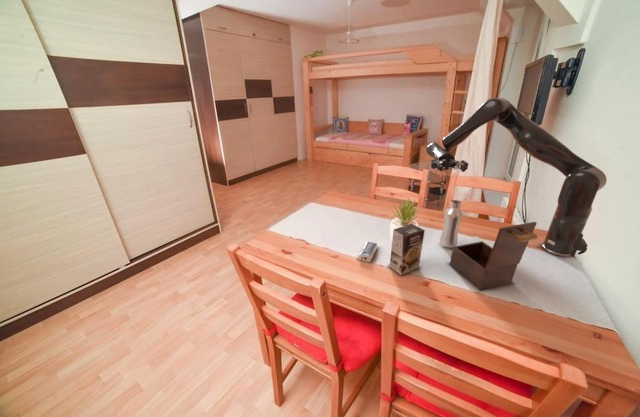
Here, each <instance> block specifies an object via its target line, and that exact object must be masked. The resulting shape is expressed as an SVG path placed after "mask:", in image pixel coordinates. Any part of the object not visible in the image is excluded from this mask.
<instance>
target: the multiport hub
mask: <svg viewBox="0 0 640 417" xmlns="http://www.w3.org/2000/svg"><path fill="white" fill-rule="evenodd" d="M377 249H378V243H377V242H372V241H366V243H365V244H364V246H363V248H362V249H361V251H360V253H359V256H358V258H359V259H358V260H359V261H362V262H366V263H371V261H372V260H373V257H374V255H375V253H376V251H377Z"/></svg>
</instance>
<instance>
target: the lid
mask: <svg viewBox="0 0 640 417" xmlns="http://www.w3.org/2000/svg"><path fill="white" fill-rule="evenodd" d="M536 226H537V222H536V221H532V222H526V223H521V224H515V225H509V226H504V227H500V228H499V229H498V232H497V235H496V238H495V240H494V243H493V246H492V248H493V249H492V251H491V254H490V257H489V260H488V262H487V265H486V268H485V270H491V269H496V268H501V267H505V266H510V265H514V264H520V262H521V260H522V258H523V256H524V253H525V251H526V249H527V246H528V245H529V242H530V241H535V240H537V239H538V235H537V234H536V233H535V232H534V230H535V228H536Z"/></svg>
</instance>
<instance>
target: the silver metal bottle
mask: <svg viewBox="0 0 640 417" xmlns="http://www.w3.org/2000/svg"><path fill="white" fill-rule="evenodd" d="M461 205H462V202H461V200H457V199H452V200H450V203H449V207H448V208H447V209H445V211H444V212H443V228H442V232H441V234H440V237H439V243H440V245H441V246H442V247H444V248H448V249H453V247H455V246H458V245H457V244H458V241H459V239H458V234H459V228H460V224H461V222H462V219H463V216H464V215H463V212H462V210H461V207H462V206H461Z"/></svg>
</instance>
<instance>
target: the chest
mask: <svg viewBox="0 0 640 417" xmlns="http://www.w3.org/2000/svg"><path fill="white" fill-rule="evenodd" d="M492 249H493V246H490V245H489V244H488V243H486V242H485V241H477V242H471V243H466V244H461V245H456V246H455V247H453V248H452V251H451V255H450V262H449V265H450V266H451V267H452V268H453V269H455V271H457V272H458V273H459V274H460V275H462V276H463V277H464V278H465V279H467V280H468V282H470V283H471V284H472V285H474V287H476V288H477V289H478V290H479V291H482V290H486V289H490V288H494V287H500V286H503V285H504V286H505V285H508V284H511V283H513V280H514V277H515V273H516V271H517V267H518V264H514V265H510V266H505V267H501V268H496V269H491V270H485V268H486V265H487V262H488V260H489V257H490V254H491V251H492Z"/></svg>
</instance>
